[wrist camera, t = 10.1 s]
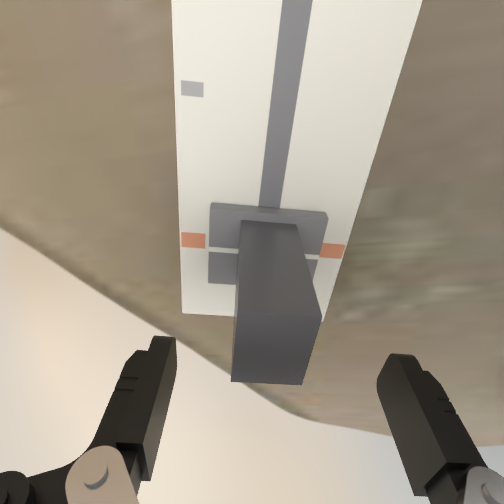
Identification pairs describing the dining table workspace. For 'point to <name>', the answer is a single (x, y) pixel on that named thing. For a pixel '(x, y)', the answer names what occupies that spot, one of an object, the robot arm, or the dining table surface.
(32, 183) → the dining table surface
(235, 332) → the fader tab
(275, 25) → the fader console
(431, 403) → the robot arm
